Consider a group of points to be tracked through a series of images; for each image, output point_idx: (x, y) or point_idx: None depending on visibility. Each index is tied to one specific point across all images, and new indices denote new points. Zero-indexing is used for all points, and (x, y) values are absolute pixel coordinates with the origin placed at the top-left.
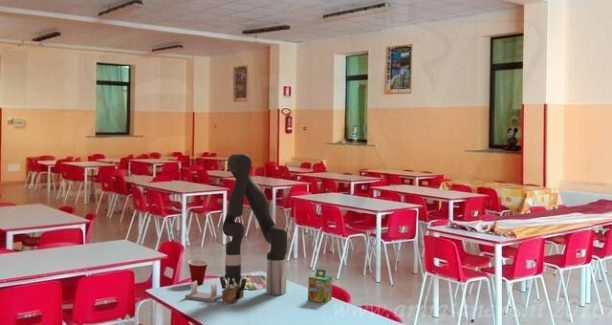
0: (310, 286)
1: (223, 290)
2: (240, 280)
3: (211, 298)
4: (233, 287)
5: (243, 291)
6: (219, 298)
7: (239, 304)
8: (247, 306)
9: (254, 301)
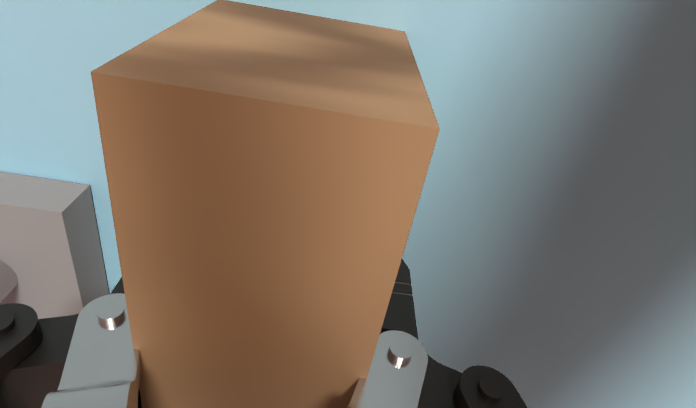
0: None
1: None
2: None
3: None
4: (238, 373)
5: (415, 69)
6: (93, 270)
7: (437, 357)
8: (544, 393)
9: (633, 218)
